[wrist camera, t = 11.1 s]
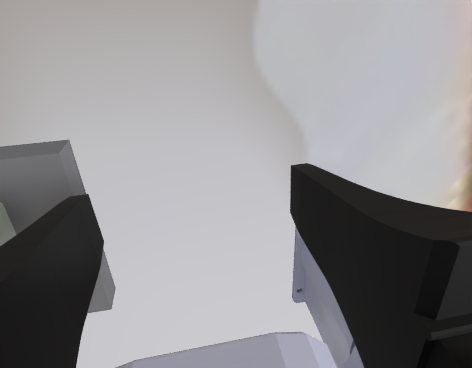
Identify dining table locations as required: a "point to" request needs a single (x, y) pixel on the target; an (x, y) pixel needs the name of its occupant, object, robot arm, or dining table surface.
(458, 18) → the dining table surface
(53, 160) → the stand
